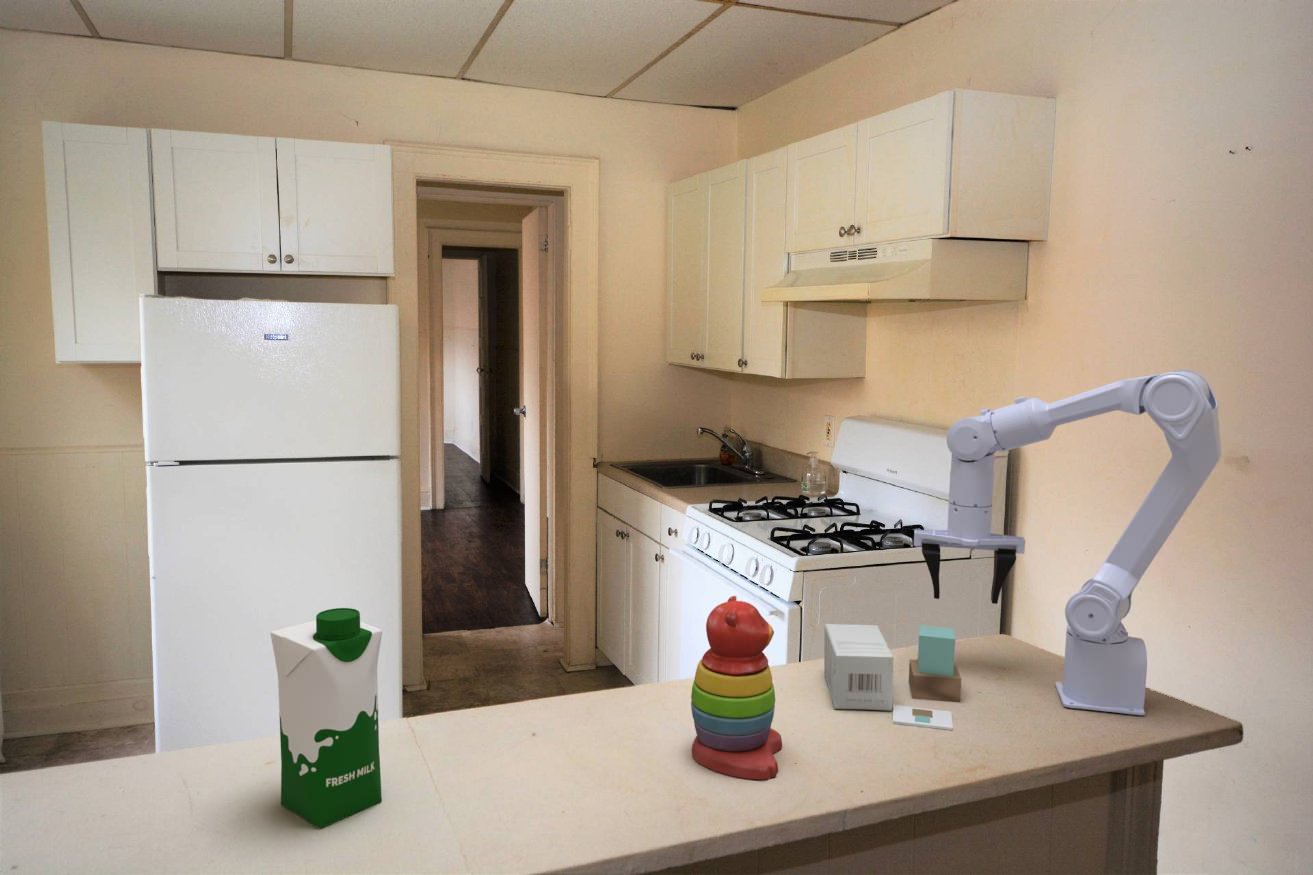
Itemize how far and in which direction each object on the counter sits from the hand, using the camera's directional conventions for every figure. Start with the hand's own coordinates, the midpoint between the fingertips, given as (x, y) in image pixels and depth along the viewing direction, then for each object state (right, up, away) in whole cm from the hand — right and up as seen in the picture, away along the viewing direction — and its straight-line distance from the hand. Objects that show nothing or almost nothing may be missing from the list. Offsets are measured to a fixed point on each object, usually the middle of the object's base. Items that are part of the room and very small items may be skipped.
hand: (965, 599), depth 132 cm
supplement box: (-17, -8, -14) cm, 24 cm away
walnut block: (-6, -12, -6) cm, 15 cm away
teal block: (-6, -8, -7) cm, 12 cm away
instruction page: (-10, -12, -15) cm, 22 cm away
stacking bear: (-34, -13, -26) cm, 45 cm away
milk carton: (-76, -14, -37) cm, 86 cm away
